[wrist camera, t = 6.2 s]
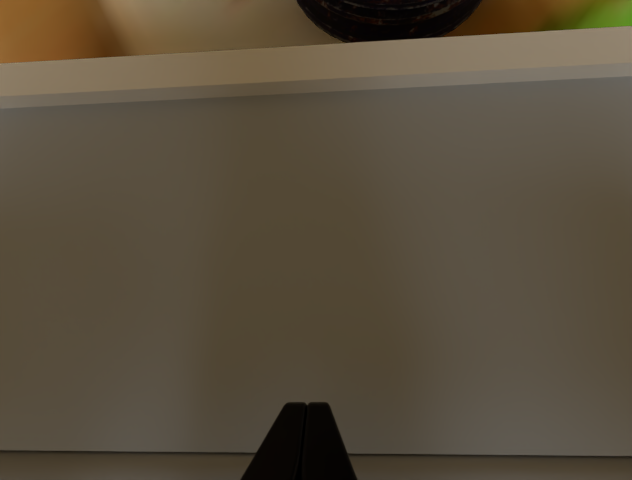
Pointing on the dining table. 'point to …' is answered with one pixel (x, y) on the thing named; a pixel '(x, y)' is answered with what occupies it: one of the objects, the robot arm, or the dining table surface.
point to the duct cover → (320, 257)
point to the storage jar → (387, 18)
